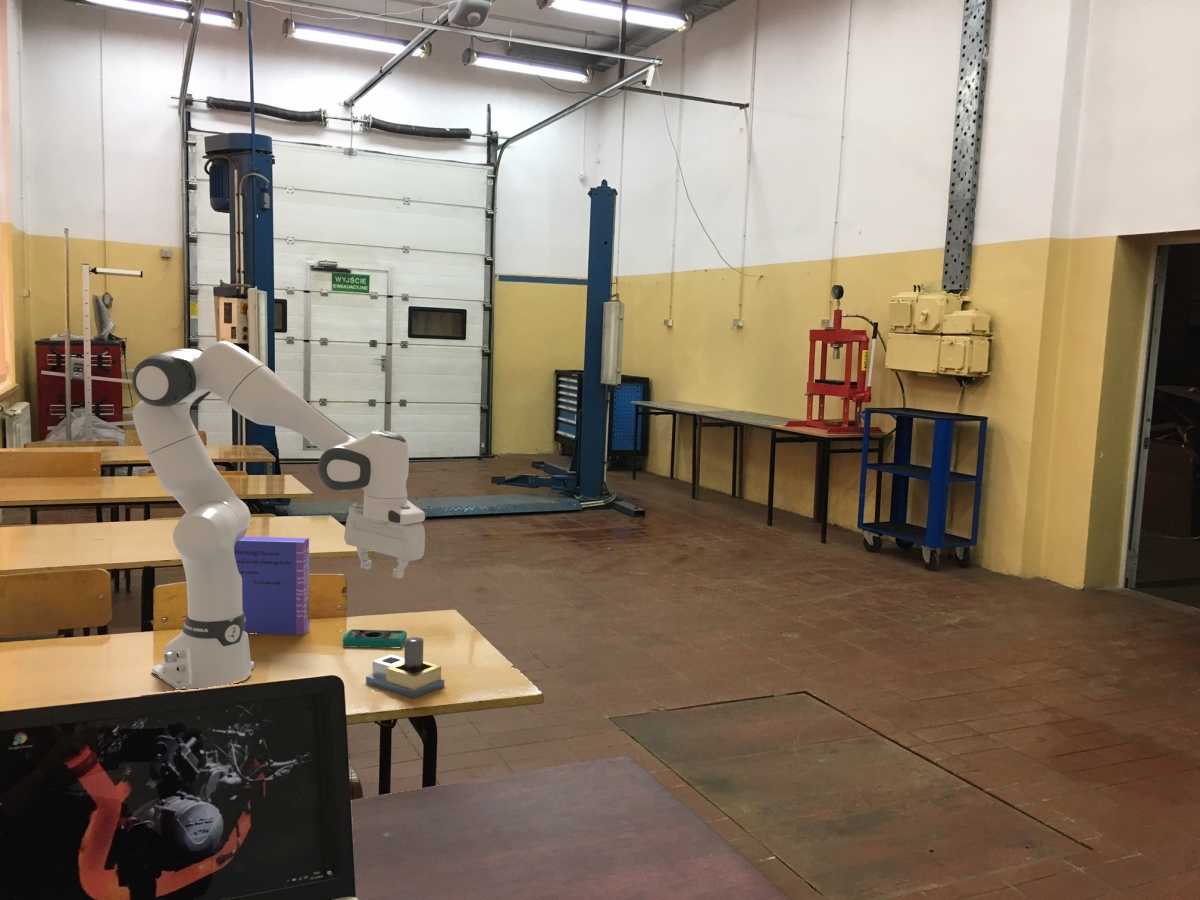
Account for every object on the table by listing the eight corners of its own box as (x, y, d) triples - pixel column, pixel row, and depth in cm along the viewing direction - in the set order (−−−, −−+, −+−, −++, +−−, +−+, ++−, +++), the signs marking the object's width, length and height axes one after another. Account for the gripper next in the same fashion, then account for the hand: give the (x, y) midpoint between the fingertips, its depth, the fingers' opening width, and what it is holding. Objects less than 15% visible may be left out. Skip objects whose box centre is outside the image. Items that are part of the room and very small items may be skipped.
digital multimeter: (348, 639, 239) (348, 627, 238) (407, 640, 239) (407, 629, 239) (340, 648, 232) (340, 637, 231) (401, 650, 232) (401, 638, 231)
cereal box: (309, 629, 244) (309, 537, 241) (304, 635, 239) (303, 541, 236) (240, 627, 243) (239, 535, 240) (233, 633, 239) (232, 539, 236)
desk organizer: (366, 683, 208) (366, 663, 208) (396, 671, 216) (396, 652, 216) (414, 698, 201) (414, 677, 200) (444, 685, 208) (444, 665, 208)
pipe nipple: (400, 680, 206) (400, 640, 205) (413, 675, 210) (413, 636, 209) (413, 685, 204) (414, 644, 203) (426, 679, 208) (427, 639, 206)
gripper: (338, 502, 203) (336, 565, 204) (409, 518, 192) (406, 585, 193) (361, 499, 208) (358, 561, 209) (431, 514, 197) (427, 580, 199)
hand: (381, 573), depth 201 cm, fingers open, 8 cm apart
